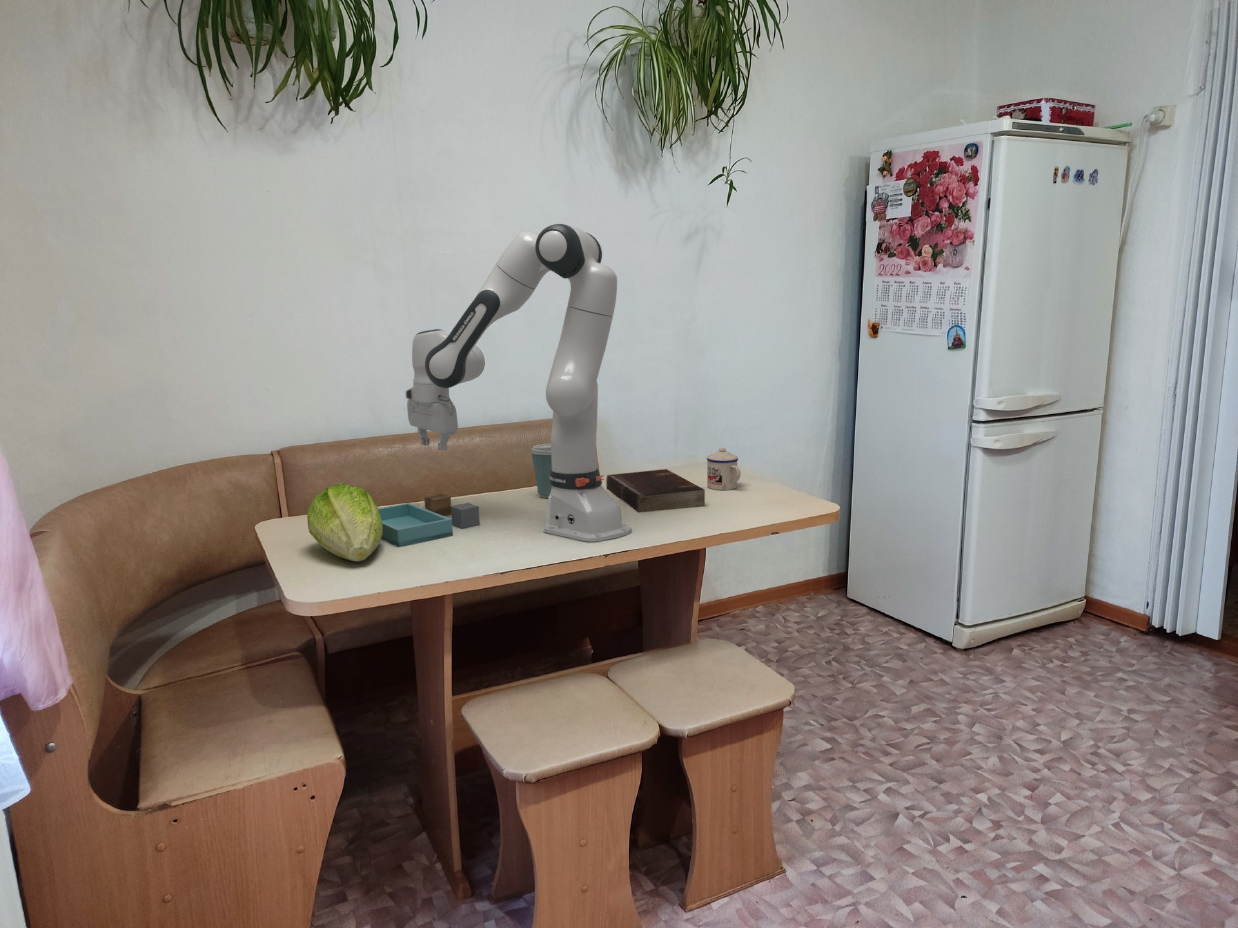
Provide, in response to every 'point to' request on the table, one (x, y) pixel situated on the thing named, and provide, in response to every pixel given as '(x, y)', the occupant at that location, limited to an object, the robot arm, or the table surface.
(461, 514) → the charcoal block
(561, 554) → the table surface
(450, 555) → the table surface
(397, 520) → the teal tray
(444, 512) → the walnut block
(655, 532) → the table surface
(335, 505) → the lettuce
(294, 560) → the table surface
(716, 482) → the teacup with lid
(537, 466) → the disposable coffee cup
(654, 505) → the hardback book
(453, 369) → the robot arm
